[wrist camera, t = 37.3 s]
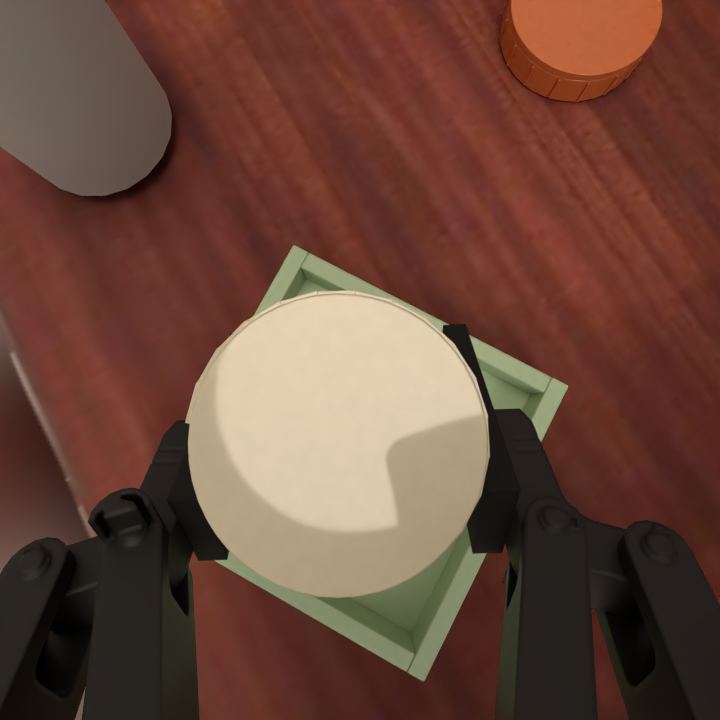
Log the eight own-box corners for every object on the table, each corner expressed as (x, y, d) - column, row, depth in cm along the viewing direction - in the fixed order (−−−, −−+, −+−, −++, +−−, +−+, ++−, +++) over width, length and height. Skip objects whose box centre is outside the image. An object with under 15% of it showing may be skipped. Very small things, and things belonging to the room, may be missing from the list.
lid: (507, -32, 24) (519, -69, 22) (645, -17, 24) (668, -54, 22) (491, 93, 23) (502, 65, 21) (633, 110, 23) (657, 83, 21)
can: (202, 166, 23) (22, -92, 11) (70, 228, 23) (-255, 34, 11) (146, 47, 24) (-77, -309, 12) (18, 107, 24) (-338, -195, 12)
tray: (548, 388, 22) (569, 385, 19) (418, 652, 20) (424, 683, 18) (301, 260, 22) (293, 244, 20) (164, 506, 21) (139, 517, 19)
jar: (444, 370, 20) (529, 323, 9) (410, 516, 19) (459, 650, 8) (303, 335, 20) (226, 252, 9) (265, 478, 19) (136, 560, 9)
